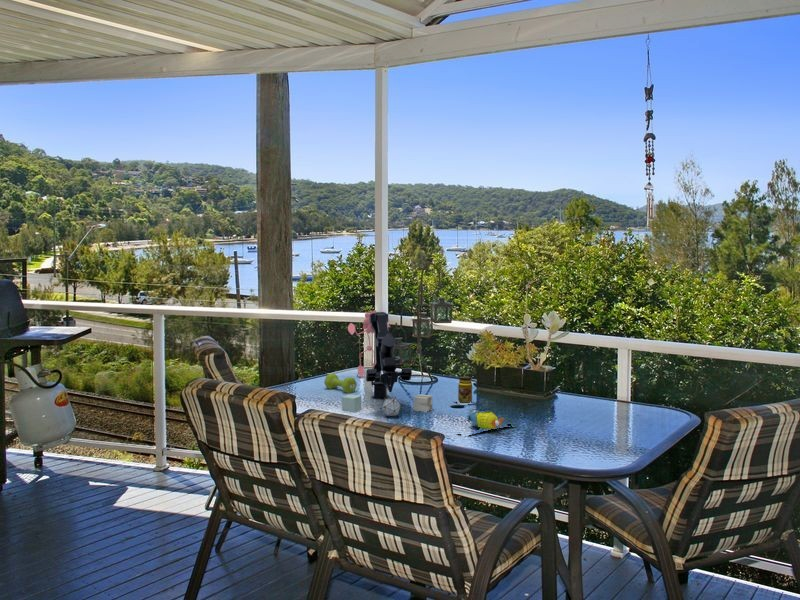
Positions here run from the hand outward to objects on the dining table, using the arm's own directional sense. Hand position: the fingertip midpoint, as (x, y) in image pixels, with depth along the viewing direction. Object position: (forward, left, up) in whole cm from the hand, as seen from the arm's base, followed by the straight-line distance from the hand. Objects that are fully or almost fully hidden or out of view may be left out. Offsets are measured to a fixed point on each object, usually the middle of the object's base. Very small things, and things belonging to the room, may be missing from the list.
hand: (390, 391), depth 309 cm
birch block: (-16, +7, -10) cm, 21 cm away
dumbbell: (-33, -44, -11) cm, 56 cm away
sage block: (-2, -20, -10) cm, 22 cm away
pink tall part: (-68, -46, -11) cm, 83 cm away
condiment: (-36, +18, -11) cm, 42 cm away
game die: (0, 0, -11) cm, 11 cm away
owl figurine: (+1, +42, -11) cm, 43 cm away
